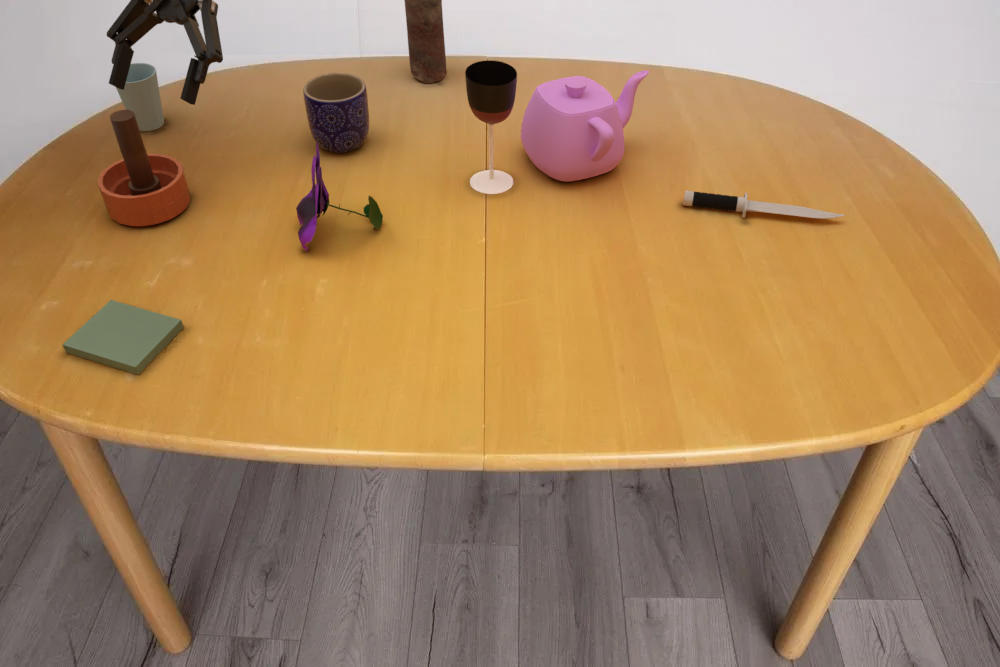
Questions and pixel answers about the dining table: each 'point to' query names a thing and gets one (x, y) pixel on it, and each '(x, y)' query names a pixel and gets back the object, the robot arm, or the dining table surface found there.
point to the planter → (337, 111)
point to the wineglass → (491, 113)
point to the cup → (143, 96)
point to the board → (123, 336)
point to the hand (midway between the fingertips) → (151, 94)
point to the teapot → (577, 126)
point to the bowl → (146, 205)
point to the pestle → (134, 153)
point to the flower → (325, 206)
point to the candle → (426, 39)
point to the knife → (750, 205)
